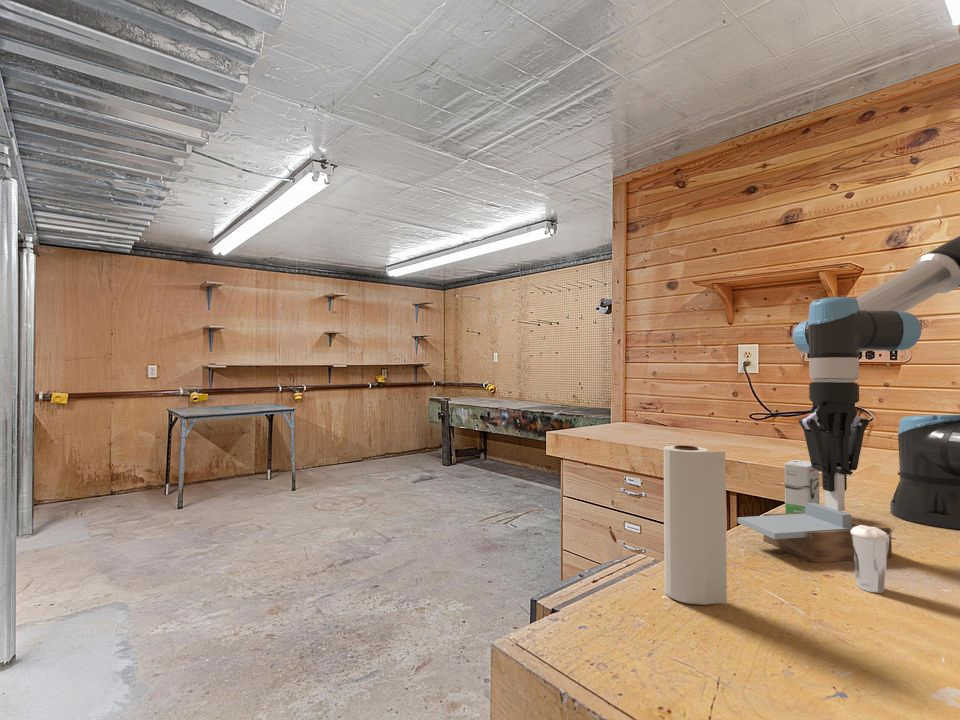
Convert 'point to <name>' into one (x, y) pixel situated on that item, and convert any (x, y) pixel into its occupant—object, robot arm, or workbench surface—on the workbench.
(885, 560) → the milkshake
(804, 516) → the lid
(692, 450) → the paper towel roll
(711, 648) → the workbench surface
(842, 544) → the case
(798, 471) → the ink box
